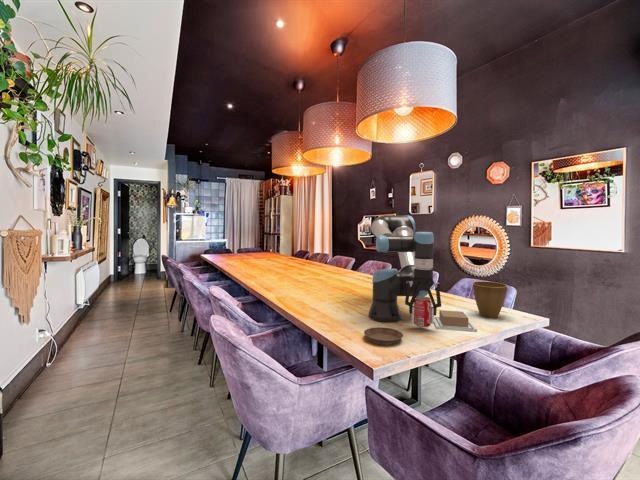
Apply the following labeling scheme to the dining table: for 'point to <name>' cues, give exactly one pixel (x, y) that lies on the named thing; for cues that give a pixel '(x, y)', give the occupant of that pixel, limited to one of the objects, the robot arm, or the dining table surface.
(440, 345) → the dining table surface
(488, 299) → the plant pot
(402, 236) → the robot arm
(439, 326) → the base
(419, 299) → the soda can
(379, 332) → the saucer
